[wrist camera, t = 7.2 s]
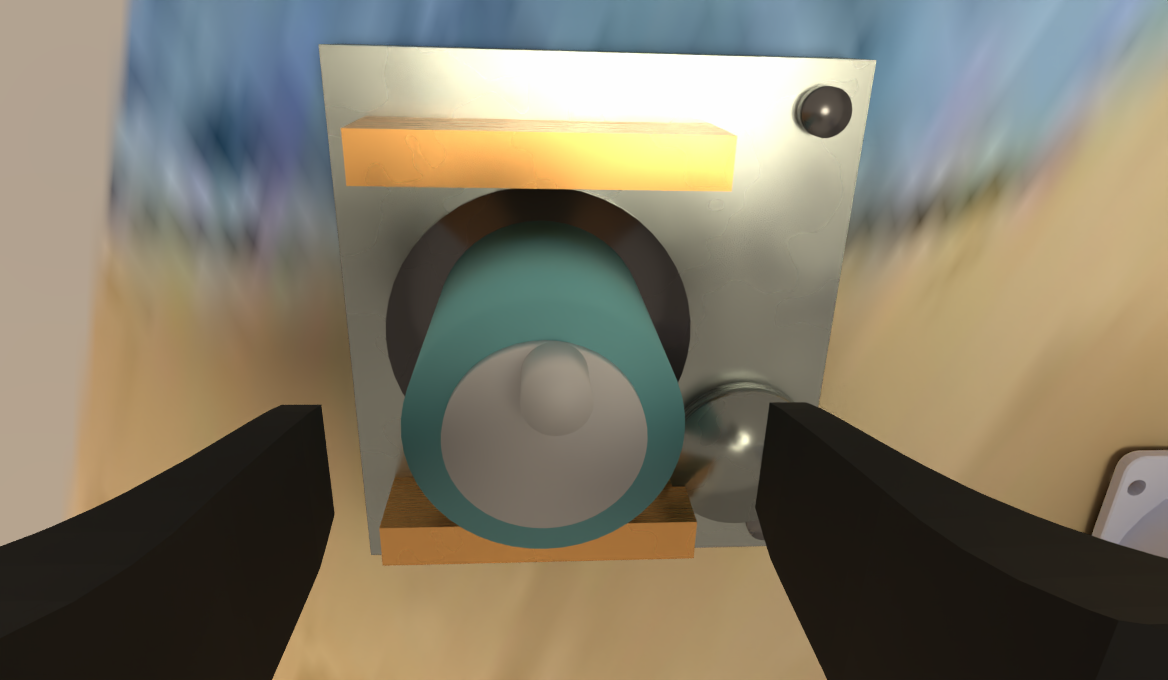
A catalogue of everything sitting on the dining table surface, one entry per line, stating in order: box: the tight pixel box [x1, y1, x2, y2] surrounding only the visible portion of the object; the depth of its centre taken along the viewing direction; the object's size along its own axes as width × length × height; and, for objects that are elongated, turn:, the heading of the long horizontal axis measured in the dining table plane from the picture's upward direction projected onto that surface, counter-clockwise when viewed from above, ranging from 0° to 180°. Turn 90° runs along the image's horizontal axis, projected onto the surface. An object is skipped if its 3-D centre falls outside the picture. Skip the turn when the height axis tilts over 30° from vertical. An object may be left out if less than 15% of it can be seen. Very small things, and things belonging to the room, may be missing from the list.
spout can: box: [401, 221, 685, 549], centre depth 13 cm, size 4×4×6 cm
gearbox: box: [319, 44, 876, 565], centre depth 16 cm, size 12×11×4 cm
